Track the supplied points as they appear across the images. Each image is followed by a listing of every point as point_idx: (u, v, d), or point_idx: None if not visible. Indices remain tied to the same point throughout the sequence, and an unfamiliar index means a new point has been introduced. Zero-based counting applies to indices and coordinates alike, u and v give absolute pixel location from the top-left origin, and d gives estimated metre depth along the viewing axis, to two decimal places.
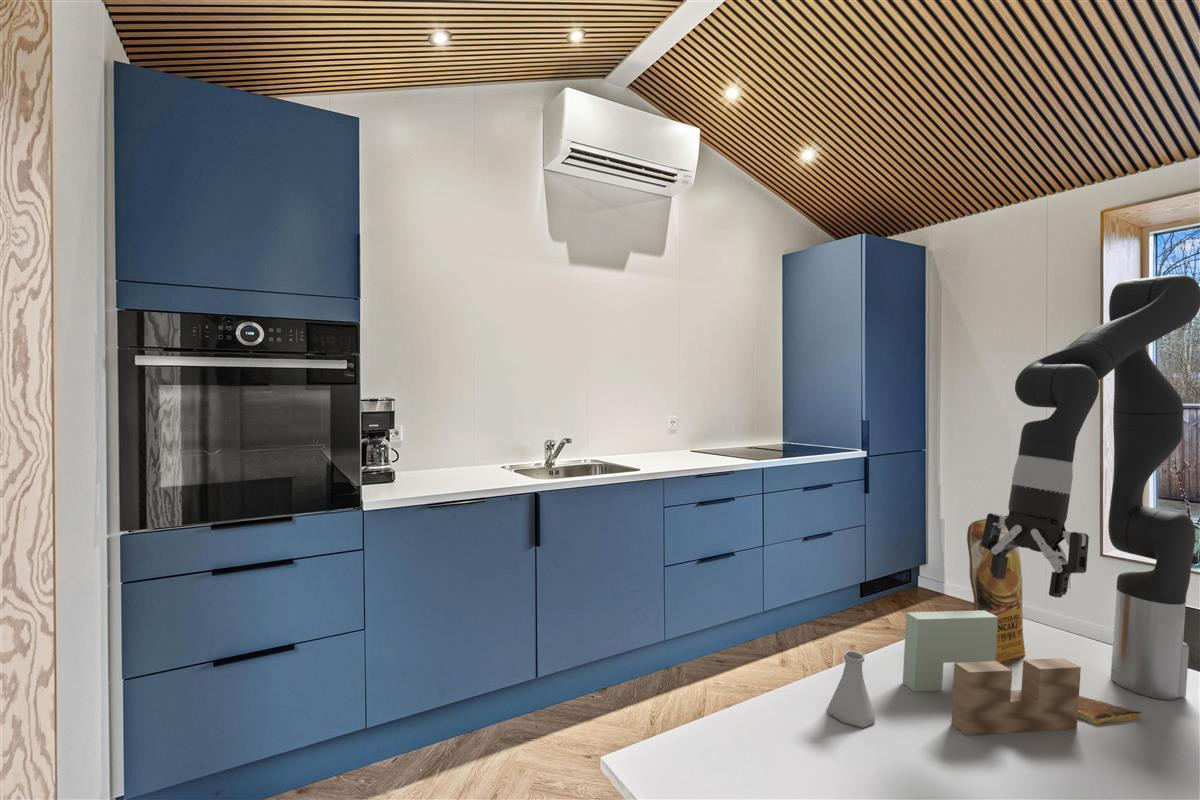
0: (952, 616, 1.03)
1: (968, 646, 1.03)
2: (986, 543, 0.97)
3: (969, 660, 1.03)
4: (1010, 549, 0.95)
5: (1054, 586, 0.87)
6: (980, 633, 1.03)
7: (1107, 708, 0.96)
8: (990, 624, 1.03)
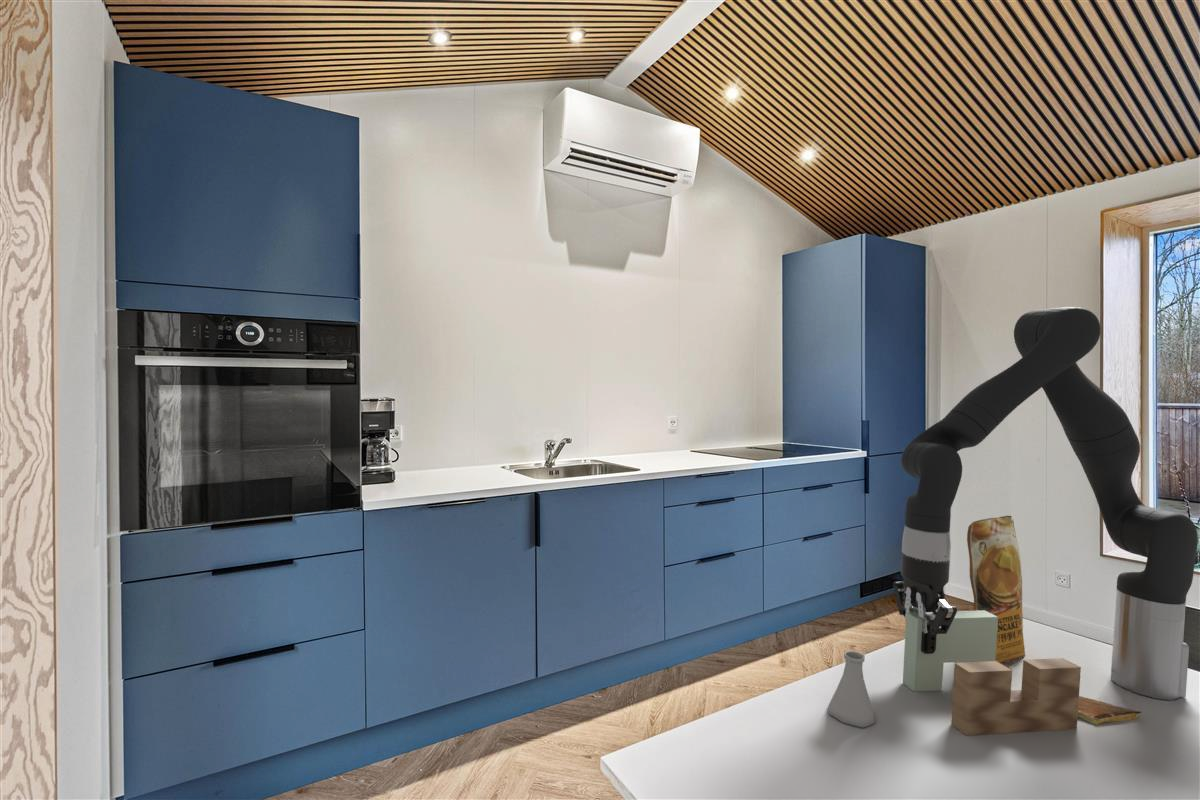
0: None
1: (968, 645, 1.03)
2: (901, 611, 1.06)
3: (969, 660, 1.03)
4: None
5: (923, 644, 1.01)
6: (980, 633, 1.03)
7: (1107, 708, 0.96)
8: (990, 624, 1.03)
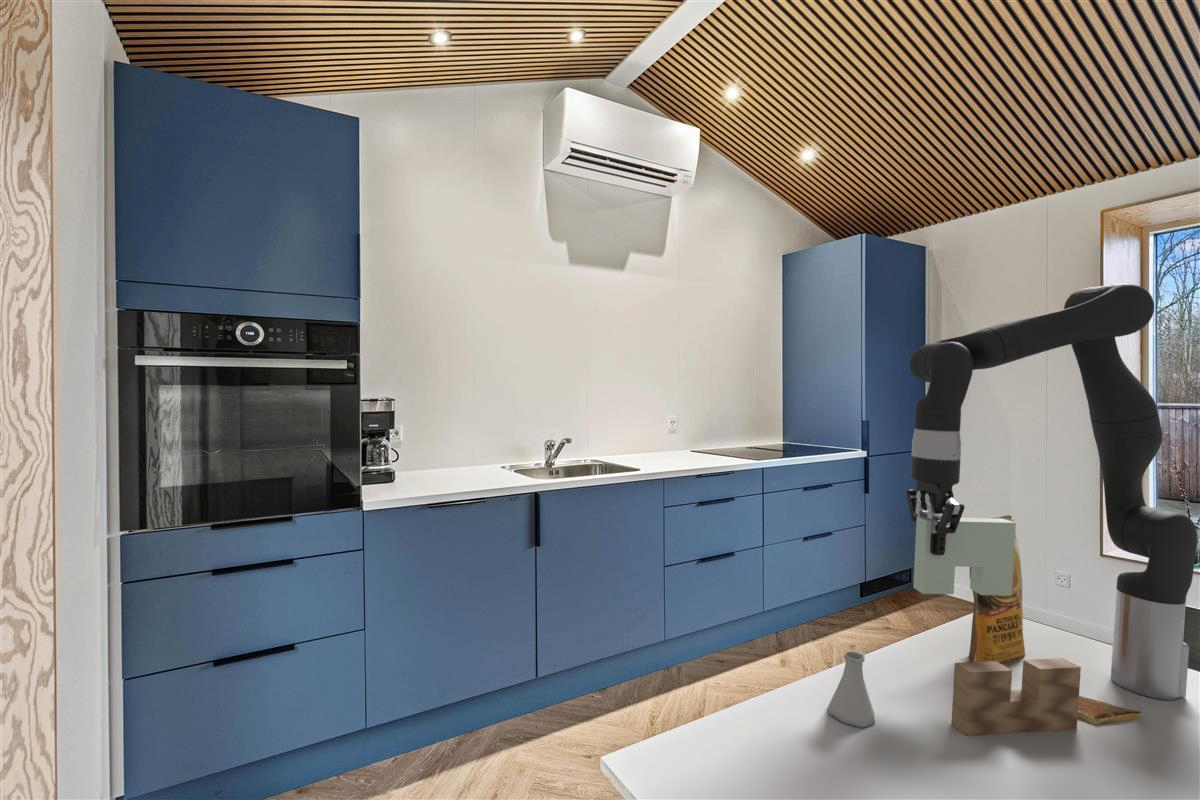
0: (965, 520, 1.02)
1: (982, 550, 1.01)
2: (913, 517, 1.06)
3: (984, 565, 1.01)
4: None
5: (932, 545, 1.00)
6: (996, 538, 1.01)
7: (1107, 708, 0.96)
8: (1007, 530, 1.01)
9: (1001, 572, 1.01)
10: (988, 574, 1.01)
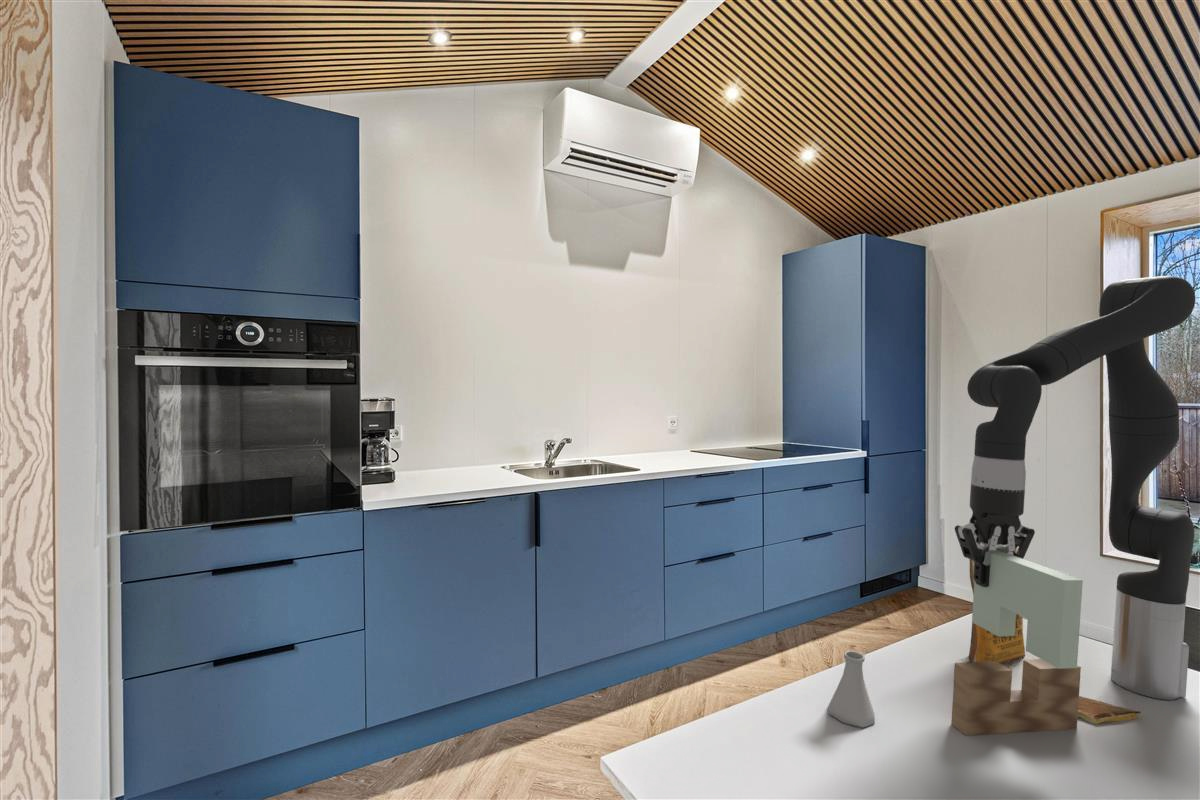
0: (1019, 561, 0.91)
1: (1027, 600, 0.89)
2: None
3: (1028, 618, 0.88)
4: None
5: None
6: (1042, 591, 0.86)
7: (1107, 707, 0.96)
8: (1054, 585, 0.84)
9: (1047, 634, 0.85)
10: (1033, 630, 0.88)
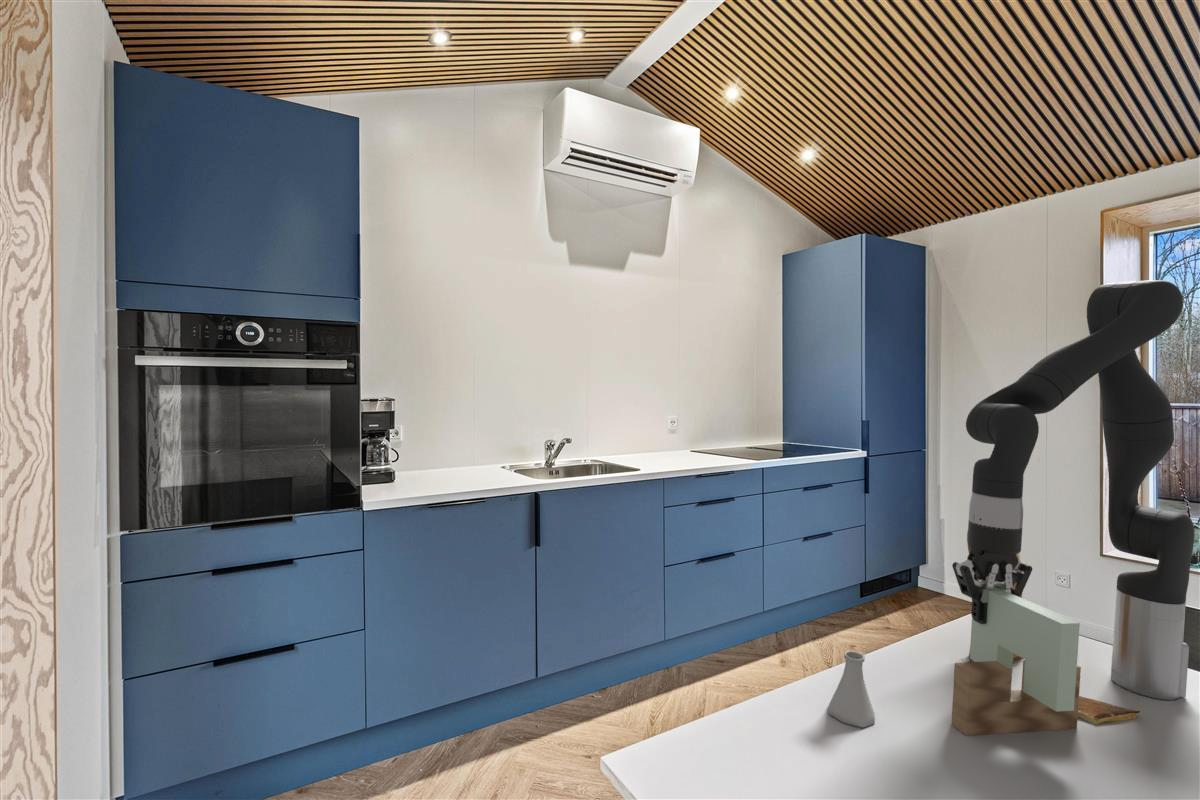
0: (1017, 601, 0.91)
1: (1024, 640, 0.89)
2: None
3: (1026, 658, 0.89)
4: None
5: None
6: (1039, 633, 0.86)
7: (1107, 707, 0.96)
8: (1052, 628, 0.85)
9: (1044, 676, 0.85)
10: (1030, 671, 0.88)
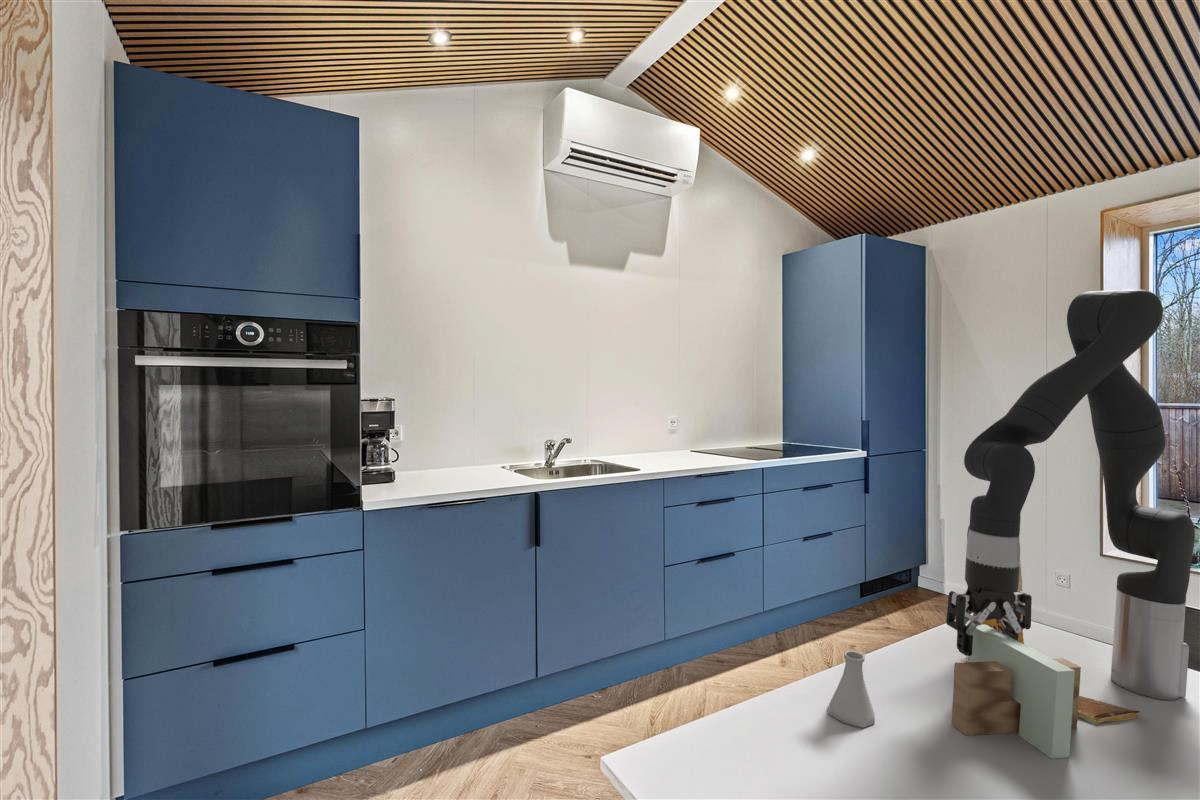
0: (1012, 644, 0.92)
1: (1020, 685, 0.89)
2: None
3: (1021, 703, 0.89)
4: (1010, 624, 0.97)
5: None
6: (1035, 679, 0.87)
7: (1106, 707, 0.96)
8: (1047, 675, 0.85)
9: (1039, 722, 0.86)
10: (1026, 716, 0.88)
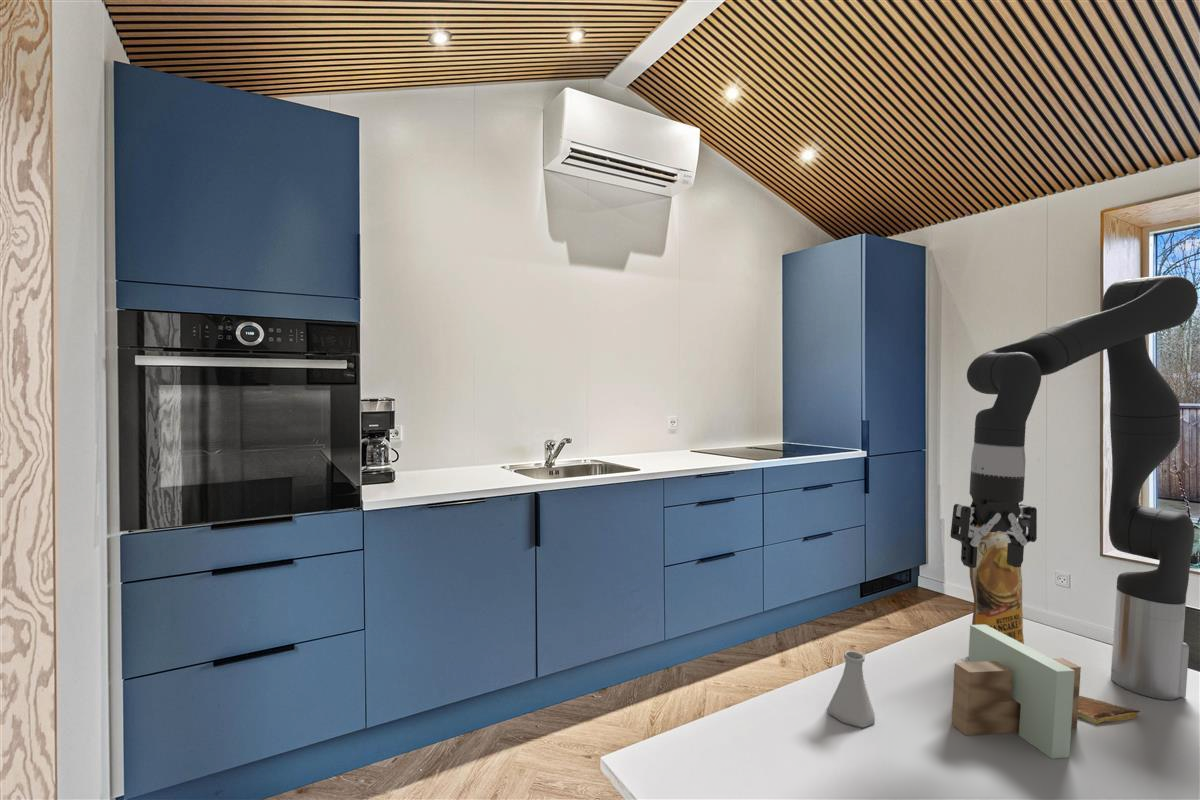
0: (1012, 644, 0.92)
1: (1020, 685, 0.89)
2: None
3: (1021, 703, 0.89)
4: (1016, 537, 0.97)
5: None
6: (1035, 679, 0.87)
7: (1106, 707, 0.96)
8: (1047, 675, 0.85)
9: (1039, 722, 0.86)
10: (1026, 716, 0.88)
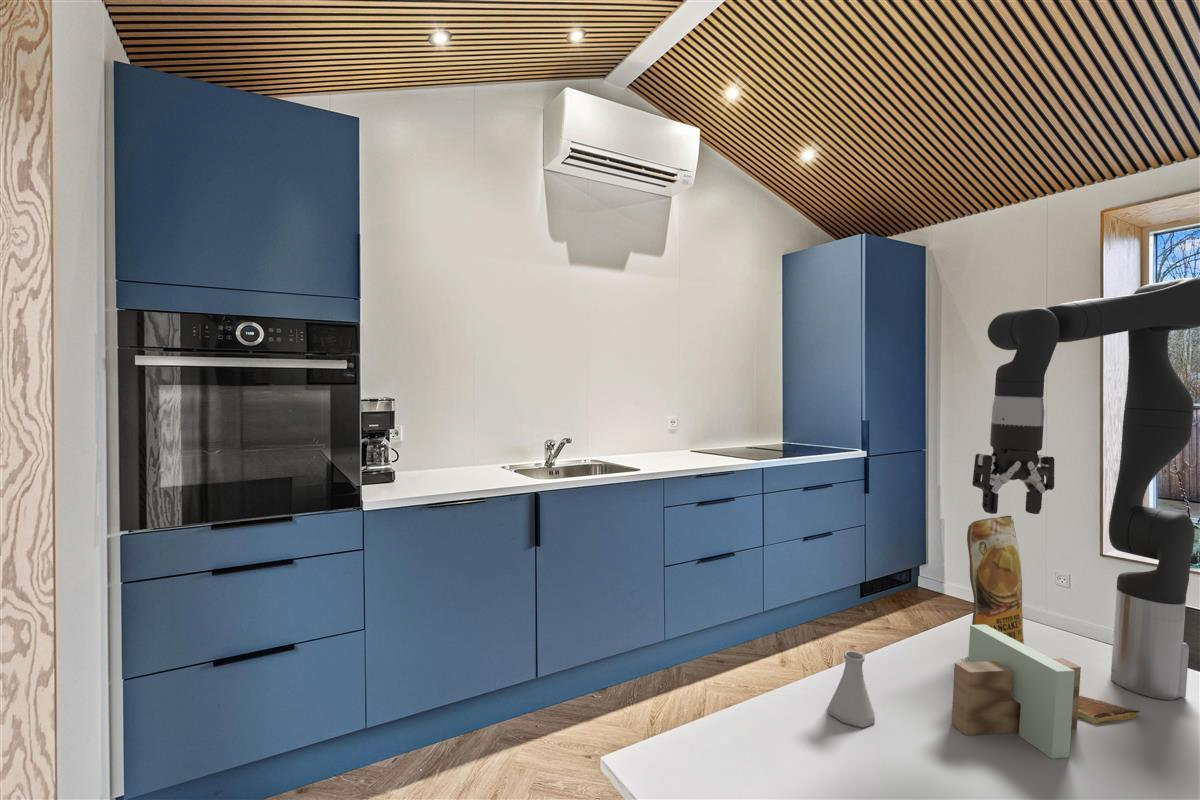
0: (1012, 644, 0.92)
1: (1020, 685, 0.89)
2: None
3: (1021, 703, 0.89)
4: (1034, 485, 1.02)
5: None
6: (1035, 679, 0.87)
7: (1106, 707, 0.97)
8: (1047, 675, 0.85)
9: (1039, 722, 0.86)
10: (1026, 716, 0.88)
